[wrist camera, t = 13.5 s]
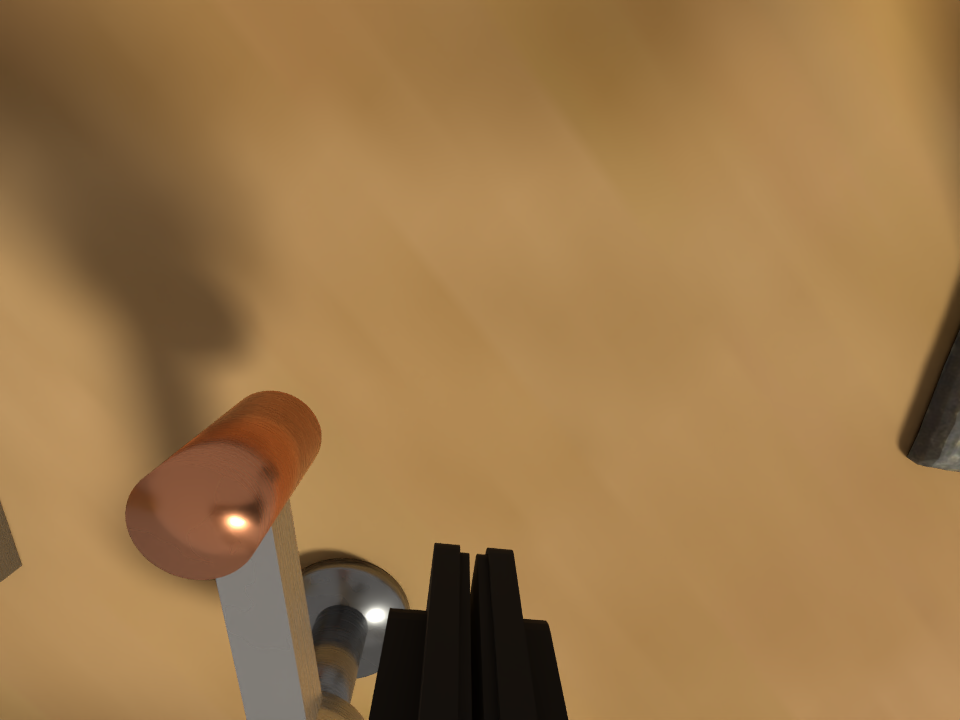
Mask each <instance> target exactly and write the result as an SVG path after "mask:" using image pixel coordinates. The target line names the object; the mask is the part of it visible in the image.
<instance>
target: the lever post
mask: <svg viewBox="0 0 960 720" xmlns="http://www.w3.org/2000/svg"><path fill="white" fill-rule="evenodd" d="M302 577H303V583H304V589H305V596H306V602H307V608H308V614H309V620H310V626H311V632H312V638H313V644H314V650H315V656H316V662H317V668H318V674H319V680H320V686H321V691H325V692H328V693H331V694H334V695H336V696H338V697H340V698H342V699H344V700H345V701H347V702H348V703H350V702H351V698H352V694H353V689H354V685H355V681H356V679H357V678H362V677H366V676H369V675H372V674H374V673H376V672H378V667H379V662H380V656H381V651H382V646H383V640H384V635H385V630H386V624H387V619H388V614H389V610H390V608H398V609H409V603H408V600H407V597H406V595H405V593H404V591H403V589H402V588H401V587H400V585H399V584H398V583H397V582H396V580H395V579H394V578H393V577H391V576H390V575H389V574H388V573H387V572H385V571H383V570H382V569H380V568H378V567H376V566H374V565H372V564H369V563H366V562H363V561H359V560H354V559H330V560H325V561H321V562H318V563H315V564H313V565H311V566H309V567H307V568H305V569H303V570H302Z"/></svg>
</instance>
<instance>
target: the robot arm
mask: <svg viewBox="0 0 960 720" xmlns="http://www.w3.org/2000/svg"><path fill="white" fill-rule="evenodd" d="M369 720H568V716H567V711H566V706H565V701H564V696H563V691H562V686H561V682H560V677H559V672H558V667H557V662H556V657H555V652H554V647H553V642H552V637H551V632H550V628H549V625H548V623H547V621H543V620H531V619H523V615H522V608H521V601H520V594H519V587H518V580H517V573H516V566H515V559H514V553H513V550H507V549H496V548H487V550H486V554H485V555H482V554H477V555H476V560H475V566H474V573H473V579H472V586H471V592H470V560H469V553H460V545H452V544H441V543H435V544H434V552H433V560H432V568H431V576H430V584H429V592H428V600H427V608H426V611H422V610H410V609H398V608H390V610H389V614H388V619H387V624H386V630H385V635H384V640H383V646H382V651H381V656H380V662H379V667H378V672H377V678H376V683H375V689H374V694H373V699H372V705H371V710H370V715H369Z"/></svg>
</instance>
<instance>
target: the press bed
mask: <svg viewBox="0 0 960 720" xmlns="http://www.w3.org/2000/svg"><path fill="white" fill-rule="evenodd" d="M21 566H22V565H21V562H20V559H19V556H18V553H17V550H16V547H15V544H14V541H13V538H12V535H11V532H10V529H9V526H8V524H7V521H6V518H5V515H4V512H3V509H2V506H1V503H0V582H1V581H3V580H4V579H5V578H6V577H8V576H9V575H10V574H12V573H13V572H14V571H15V570H17V569H18V568H19V567H21Z"/></svg>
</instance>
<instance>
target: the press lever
mask: <svg viewBox="0 0 960 720" xmlns="http://www.w3.org/2000/svg"><path fill="white" fill-rule="evenodd" d="M320 446H321V429H320V425H319V423H318V420H317V418H316V416H315V415H314V413H313V412H312V410H311V409H310V408H309V407H308V406H307V405H306V404H305V403H303V402H302V401H301V400H299V399H298V398H296V397H294V396H292V395H289V394H287V393H283V392H279V391H261V392H257V393H254V394H251V395H249V396H247V397H246V398H244V399H243V400H242V401H240V402H239V403H238V404H236V405H235V406H234V407H233V408H231V409H230V410H229V411H228V412H226V413H225V414H224V415H222V416H221V417H220V418H219V419H217V420H216V421H215V422H214V423H212V424H211V425H210V426H209V427H207V428H206V429H205V430H204V431H202V432H201V433H200V434H198V435H197V436H196V437H195V438H193V439H192V440H191V441H190V442H188V443H187V444H186V445H185V446H183V447H182V448H181V449H179V450H178V451H177V452H176V453H174V454H173V455H172V456H171V457H169V458H168V459H167V460H166V461H164V462H163V463H162V464H161V465H159V466H158V467H157V468H155V469H154V470H153V471H152V472H150V473H149V474H148V475H147V476H145V477H144V478H143V479H142V480H140V482H139V483H138V484H137V485H136V486H135V487H134V489H133V490H132V492H131V494H130V496H129V498H128V501H127V505H126V512H125V515H126V524H127V529H128V532H129V535H130V537H131V539H132V541H133V543H134V544H135V546H136V547H137V549H138V550H139V551H140V552H141V553H142V555H143V556H144V557H146V558H147V559H148V560H149V561H150V562H151V563H153V564H154V565H155V566H157V567H159V568H160V569H162V570H164V571H166V572H168V573H170V574H173V575H176V576H179V577H182V578H187V579H194V580H209V579H216V583H217V587H218V592H219V596H220V601H221V605H222V610H223V614H224V619H225V623H226V628H227V633H228V637H229V642H230V646H231V651H232V655H233V660H234V664H235V669H236V673H237V678H238V682H239V687H240V691H241V696H242V700H243V705H244V710H245V714H246V719H247V720H364V719H363V717H362V715H361V714H360V713H359V712H358V711H357V710H356V709H355V708H354V707H353V706H352V705H351V704H350V703H348V702H347V701H345V700H344V699H342V698H340V697H338V696H336V695H334V694H331V693H328V692H325V691H321V686H320V680H319V674H318V668H317V662H316V656H315V650H314V644H313V638H312V632H311V626H310V620H309V614H308V608H307V602H306V596H305V589H304V583H303V577H302V571H301V565H300V559H299V553H298V547H297V541H296V535H295V529H294V523H293V517H292V511H291V505H290V499H289V498H290V497H291V495H292V493H293V492H294V490H295V489H296V487H297V486H298V484H299V483H300V481H301V479H302V478H303V476H304V475H305V473H306V472H307V470H308V469H309V467H310V466H311V464H312V462H313V461H314V459H315V458H316V456H317V454H318V452H319V449H320Z"/></svg>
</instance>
